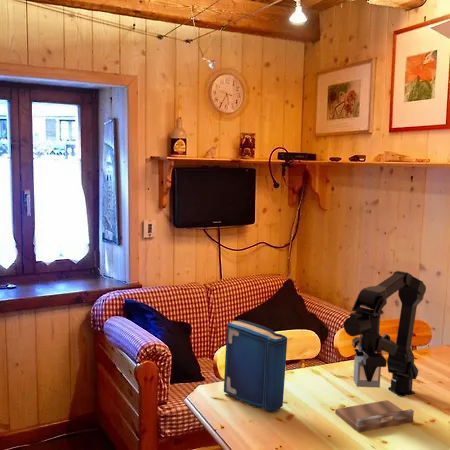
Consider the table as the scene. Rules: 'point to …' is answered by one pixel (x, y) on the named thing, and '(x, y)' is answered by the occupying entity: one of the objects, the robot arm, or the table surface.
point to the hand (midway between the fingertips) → (366, 377)
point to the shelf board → (374, 415)
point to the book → (255, 365)
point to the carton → (361, 377)
